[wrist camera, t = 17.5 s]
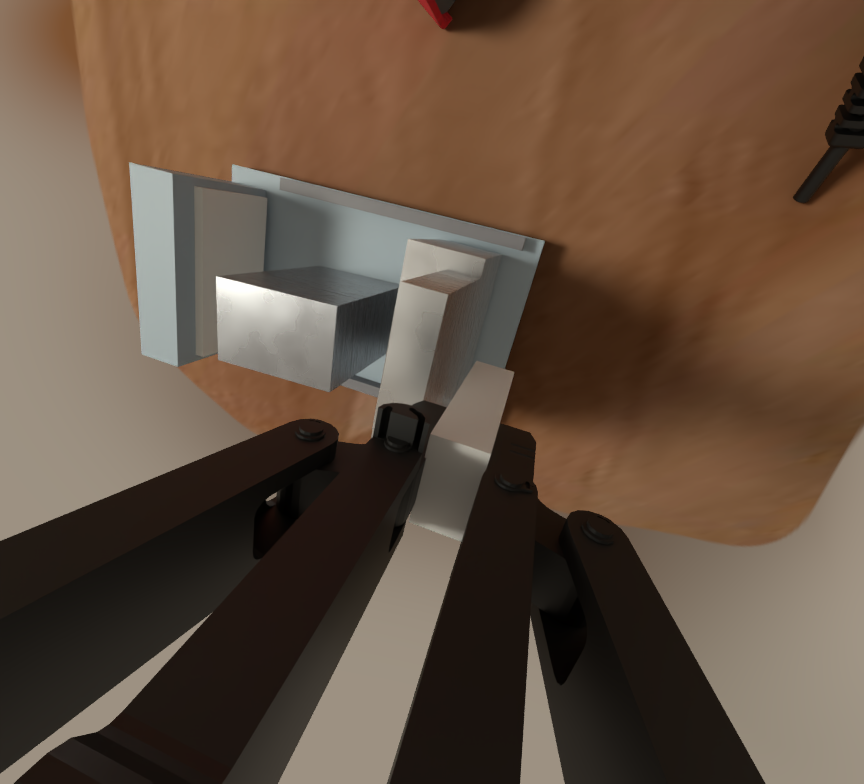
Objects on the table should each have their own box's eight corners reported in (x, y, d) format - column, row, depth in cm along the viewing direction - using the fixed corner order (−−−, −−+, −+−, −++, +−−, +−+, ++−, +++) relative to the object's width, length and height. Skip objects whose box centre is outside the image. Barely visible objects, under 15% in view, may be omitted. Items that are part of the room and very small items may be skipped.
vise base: (248, 168, 27) (127, 139, 19) (545, 240, 24) (541, 240, 16) (241, 338, 32) (142, 370, 24) (488, 419, 28) (465, 485, 21)
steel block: (319, 265, 26) (215, 276, 18) (406, 285, 25) (337, 306, 17) (315, 325, 28) (218, 359, 20) (396, 346, 27) (329, 392, 19)
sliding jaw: (443, 239, 24) (344, 237, 12) (502, 254, 23) (454, 267, 12) (410, 388, 27) (311, 492, 16) (460, 404, 27) (393, 524, 15)
